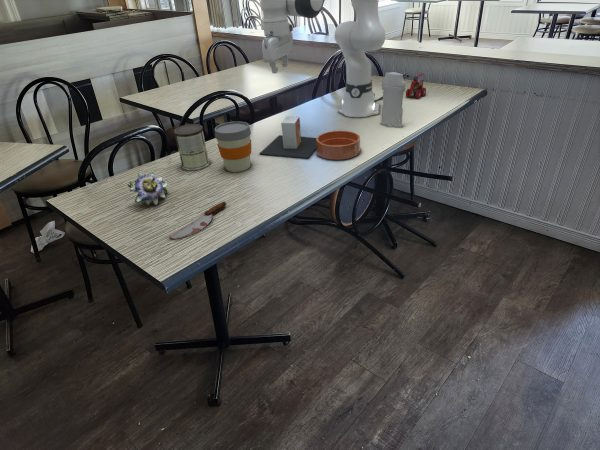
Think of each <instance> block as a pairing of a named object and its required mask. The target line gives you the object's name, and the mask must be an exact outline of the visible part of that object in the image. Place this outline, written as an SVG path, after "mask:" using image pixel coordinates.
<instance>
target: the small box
mask: <svg viewBox="0 0 600 450" xmlns="http://www.w3.org/2000/svg"><path fill="white" fill-rule="evenodd" d="M300 119H301V117H300V116H285V118H284V119H283V120H282V121H281V123H280V126H281V135H282V136H283V146H284V149H297V148H298V146H299V145H300V143H301V137H302V133H301V131H302V130H301V120H300Z"/></svg>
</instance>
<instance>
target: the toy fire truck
mask: <svg viewBox="0 0 600 450" xmlns="http://www.w3.org/2000/svg"><path fill="white" fill-rule="evenodd" d="M424 79H425V74H424V73H420V74H418V75H415V76H413V80H412V81H411V82H410V87H409V88H406V90H405V97H406V98H410V97H411V98H412V97H415V99H420V98H421V97H424V96H425V95H426V93H427V88H426V87H424Z"/></svg>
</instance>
